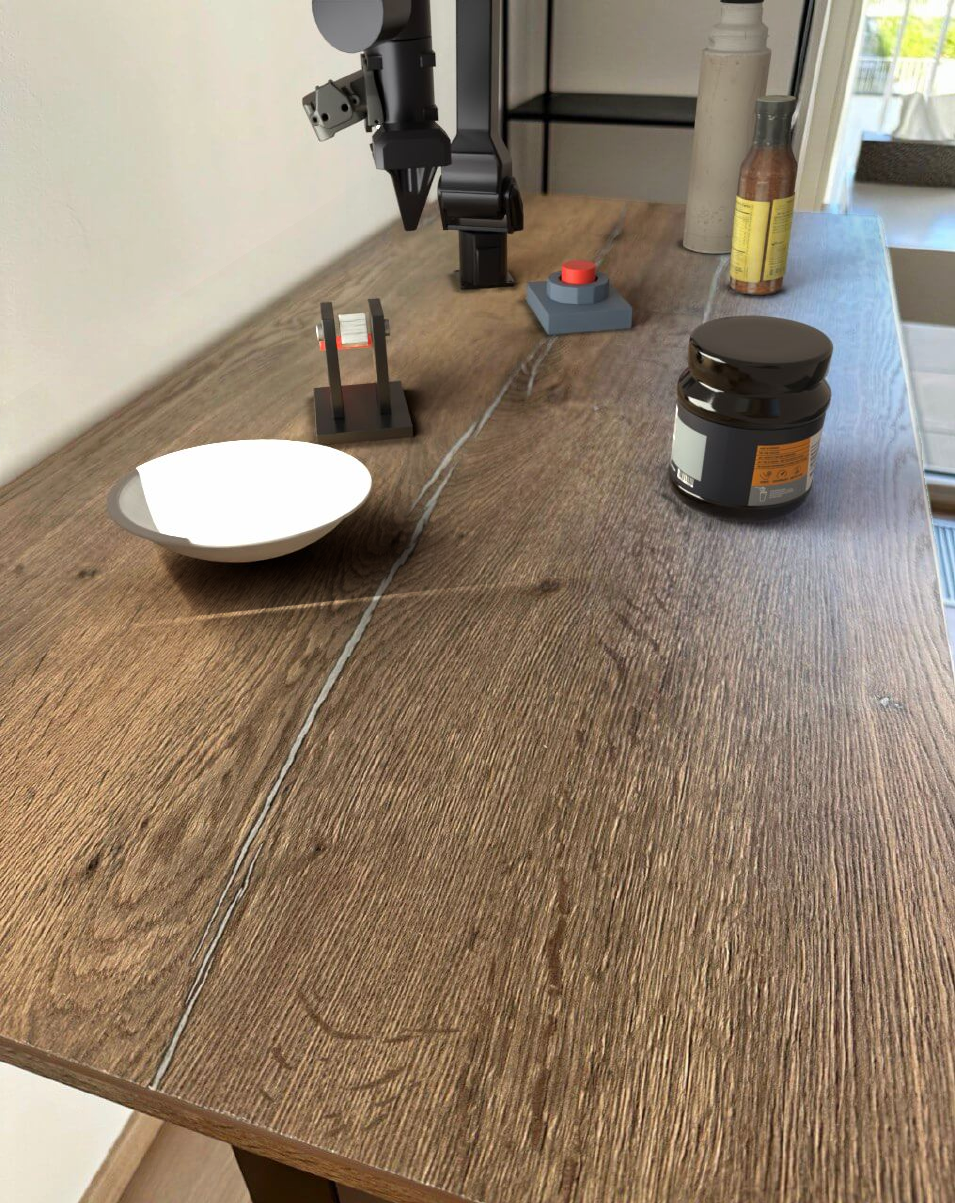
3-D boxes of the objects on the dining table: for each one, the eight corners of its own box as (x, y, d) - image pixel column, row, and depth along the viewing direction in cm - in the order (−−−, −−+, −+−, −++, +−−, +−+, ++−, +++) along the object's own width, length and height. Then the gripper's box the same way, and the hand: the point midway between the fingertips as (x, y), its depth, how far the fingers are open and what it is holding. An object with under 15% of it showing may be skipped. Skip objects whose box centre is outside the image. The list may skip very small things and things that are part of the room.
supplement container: (839, 511, 69) (876, 352, 62) (713, 541, 67) (737, 378, 60) (756, 450, 78) (780, 304, 71) (641, 474, 75) (654, 324, 68)
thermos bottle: (737, 236, 128) (770, -11, 112) (750, 253, 122) (787, -6, 106) (678, 237, 129) (702, -9, 112) (688, 254, 122) (715, -5, 106)
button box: (526, 301, 109) (526, 265, 106) (603, 295, 110) (605, 260, 107) (547, 335, 100) (548, 297, 97) (631, 328, 101) (634, 290, 99)
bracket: (314, 399, 88) (301, 293, 82) (401, 392, 89) (394, 286, 83) (318, 448, 80) (303, 333, 74) (413, 439, 81) (406, 325, 75)
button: (558, 277, 104) (558, 261, 103) (590, 275, 104) (590, 258, 103) (565, 287, 101) (566, 271, 100) (599, 285, 101) (599, 268, 100)
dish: (92, 611, 61) (71, 545, 58) (157, 499, 73) (143, 440, 70) (365, 609, 61) (358, 543, 58) (387, 497, 73) (382, 437, 70)
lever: (321, 357, 91) (318, 331, 90) (384, 352, 91) (382, 327, 91) (318, 346, 78) (314, 315, 77) (391, 340, 79) (388, 310, 78)
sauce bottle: (778, 280, 113) (808, 92, 101) (786, 298, 108) (819, 101, 96) (721, 280, 113) (745, 92, 102) (727, 297, 108) (753, 102, 97)
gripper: (300, 29, 86) (321, 209, 96) (300, 56, 72) (325, 267, 81) (422, 23, 88) (431, 202, 97) (448, 49, 73) (456, 257, 82)
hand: (410, 230), depth 89 cm, fingers closed
